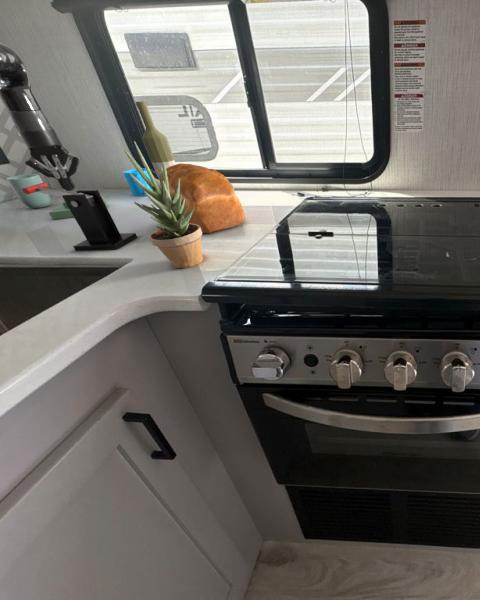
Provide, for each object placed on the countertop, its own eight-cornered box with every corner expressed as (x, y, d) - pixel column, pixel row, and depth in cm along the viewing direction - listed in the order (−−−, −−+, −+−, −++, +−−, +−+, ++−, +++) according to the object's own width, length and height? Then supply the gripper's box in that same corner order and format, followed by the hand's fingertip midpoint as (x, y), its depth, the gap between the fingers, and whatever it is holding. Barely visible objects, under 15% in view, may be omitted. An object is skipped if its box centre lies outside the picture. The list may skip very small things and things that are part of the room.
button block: (53, 219, 101) (45, 206, 99) (63, 211, 109) (56, 198, 107) (100, 213, 106) (94, 200, 104) (107, 205, 113) (101, 193, 111)
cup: (26, 206, 114) (7, 176, 109) (56, 202, 119) (38, 172, 113) (25, 211, 109) (4, 180, 104) (55, 206, 114) (38, 176, 108)
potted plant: (157, 263, 73) (99, 141, 60) (201, 249, 79) (158, 136, 66) (173, 277, 67) (114, 145, 54) (219, 261, 73) (176, 139, 60)
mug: (133, 192, 128) (123, 170, 123) (157, 189, 132) (148, 167, 127) (133, 199, 119) (122, 175, 115) (159, 195, 123) (150, 172, 119)
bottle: (180, 199, 117) (143, 101, 101) (161, 200, 118) (121, 102, 101) (191, 194, 123) (158, 101, 107) (173, 194, 123) (137, 101, 107)
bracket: (75, 250, 80) (43, 198, 73) (99, 238, 87) (72, 188, 80) (116, 249, 80) (88, 196, 74) (137, 237, 87) (113, 187, 80)
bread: (202, 237, 86) (179, 175, 77) (165, 217, 100) (143, 163, 92) (252, 223, 95) (236, 165, 86) (211, 206, 109) (194, 156, 101)
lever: (23, 195, 74) (20, 185, 73) (43, 189, 79) (40, 179, 77) (83, 210, 77) (81, 200, 75) (99, 203, 81) (97, 194, 80)
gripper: (68, 126, 100) (98, 184, 109) (11, 129, 95) (47, 190, 104) (60, 128, 94) (93, 189, 103) (-1, 131, 89) (38, 196, 99)
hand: (70, 190), depth 104 cm, fingers closed
